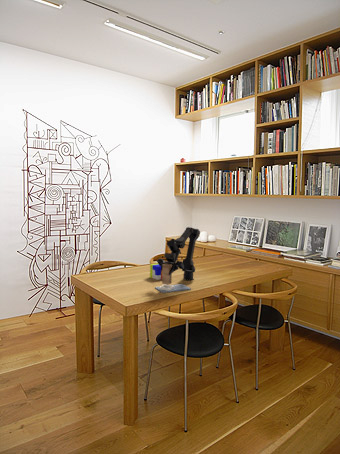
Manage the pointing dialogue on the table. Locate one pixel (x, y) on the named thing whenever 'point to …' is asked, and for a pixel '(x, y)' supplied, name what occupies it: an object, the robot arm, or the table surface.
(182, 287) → the blueprint board
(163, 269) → the pillar
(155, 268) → the puzzle toy
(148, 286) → the table surface
